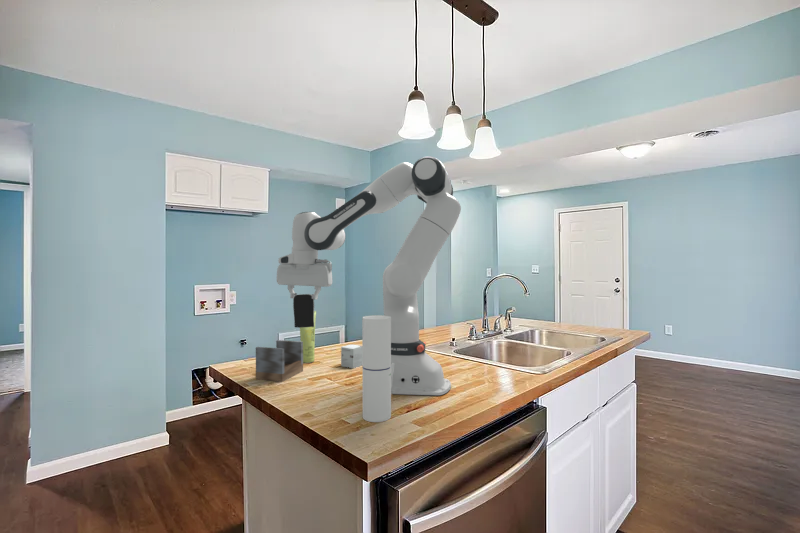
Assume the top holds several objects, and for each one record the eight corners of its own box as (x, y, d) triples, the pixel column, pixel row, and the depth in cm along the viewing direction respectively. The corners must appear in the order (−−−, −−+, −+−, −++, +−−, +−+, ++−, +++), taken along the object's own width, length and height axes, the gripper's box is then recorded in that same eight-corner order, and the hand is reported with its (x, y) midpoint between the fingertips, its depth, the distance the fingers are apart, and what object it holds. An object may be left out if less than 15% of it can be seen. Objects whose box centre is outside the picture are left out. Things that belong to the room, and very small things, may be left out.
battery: (315, 325, 141) (314, 293, 140) (314, 327, 137) (313, 294, 137) (295, 326, 140) (294, 294, 140) (293, 328, 136) (292, 294, 136)
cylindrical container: (356, 418, 99) (356, 317, 99) (374, 409, 105) (373, 314, 105) (379, 424, 95) (379, 320, 95) (396, 414, 101) (396, 316, 101)
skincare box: (340, 366, 147) (340, 346, 147) (351, 362, 153) (351, 343, 152) (353, 368, 144) (353, 348, 144) (363, 365, 149) (363, 345, 149)
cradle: (303, 371, 141) (302, 341, 141) (282, 381, 129) (282, 349, 129) (278, 368, 144) (278, 340, 144) (255, 379, 132) (255, 347, 131)
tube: (310, 364, 151) (310, 312, 151) (298, 363, 152) (297, 312, 152) (316, 360, 156) (316, 310, 156) (304, 359, 157) (304, 310, 157)
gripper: (336, 259, 138) (335, 299, 138) (284, 258, 144) (284, 296, 144) (327, 259, 132) (326, 301, 132) (274, 258, 138) (273, 298, 138)
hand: (304, 298), depth 138 cm, fingers closed on battery, 7 cm apart
